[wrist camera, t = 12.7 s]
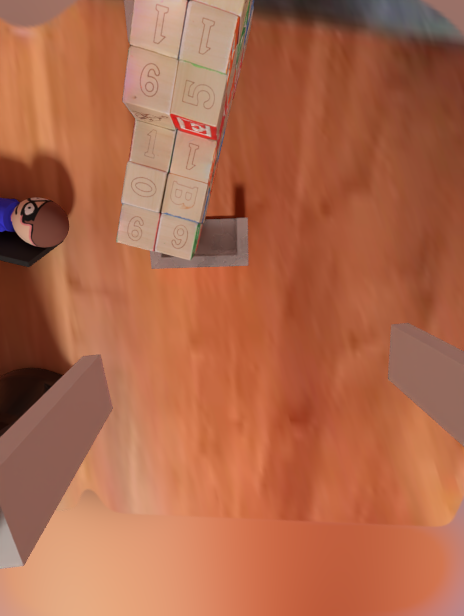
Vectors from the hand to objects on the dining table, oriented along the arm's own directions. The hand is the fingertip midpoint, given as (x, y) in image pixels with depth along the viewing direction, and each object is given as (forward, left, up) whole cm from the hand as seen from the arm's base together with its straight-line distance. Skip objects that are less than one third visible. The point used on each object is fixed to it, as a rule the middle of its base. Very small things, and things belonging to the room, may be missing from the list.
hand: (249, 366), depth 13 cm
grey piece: (-4, +4, -25) cm, 25 cm away
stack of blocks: (-4, +14, -22) cm, 26 cm away
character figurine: (-25, +7, -25) cm, 36 cm away
